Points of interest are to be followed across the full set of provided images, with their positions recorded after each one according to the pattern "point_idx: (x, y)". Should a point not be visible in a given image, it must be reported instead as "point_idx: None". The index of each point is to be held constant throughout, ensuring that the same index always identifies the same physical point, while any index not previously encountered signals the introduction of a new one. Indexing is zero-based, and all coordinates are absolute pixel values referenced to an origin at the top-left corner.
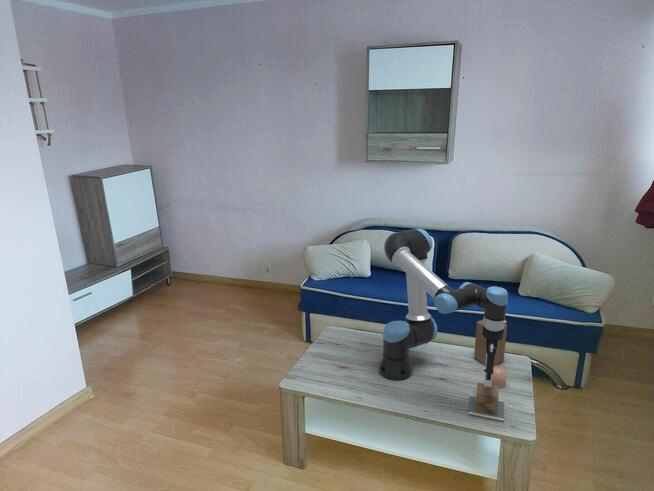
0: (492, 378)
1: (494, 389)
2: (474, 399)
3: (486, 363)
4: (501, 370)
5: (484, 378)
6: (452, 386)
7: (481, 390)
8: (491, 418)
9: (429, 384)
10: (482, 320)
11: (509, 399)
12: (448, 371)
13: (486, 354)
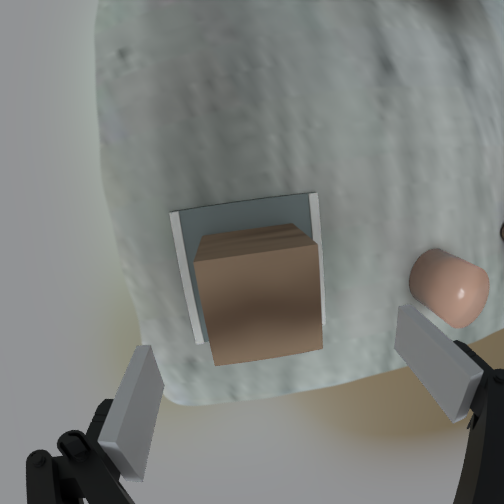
0: (434, 270)
1: (281, 339)
2: (289, 216)
3: (414, 329)
4: (463, 310)
5: (134, 379)
6: (354, 108)
7: (239, 281)
8: (187, 302)
9: (320, 20)
10: None
11: (349, 333)
12: (441, 89)
13: (460, 369)
